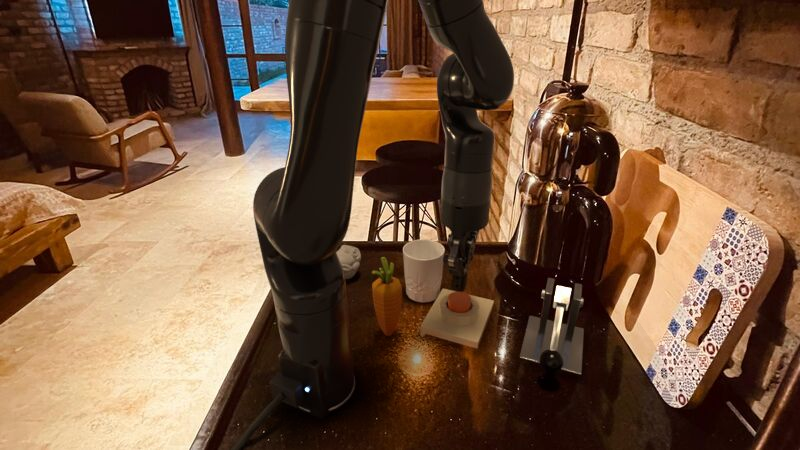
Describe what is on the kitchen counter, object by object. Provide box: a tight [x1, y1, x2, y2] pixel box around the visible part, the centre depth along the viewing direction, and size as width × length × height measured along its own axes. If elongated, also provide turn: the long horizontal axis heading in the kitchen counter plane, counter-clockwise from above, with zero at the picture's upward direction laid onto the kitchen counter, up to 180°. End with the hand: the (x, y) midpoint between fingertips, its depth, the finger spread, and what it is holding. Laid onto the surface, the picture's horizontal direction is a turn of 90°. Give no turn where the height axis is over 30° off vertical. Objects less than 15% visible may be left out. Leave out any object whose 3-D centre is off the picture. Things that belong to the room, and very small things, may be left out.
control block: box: [419, 288, 495, 349], centre depth 72 cm, size 12×10×4 cm
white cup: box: [402, 238, 446, 304], centre depth 79 cm, size 8×8×10 cm
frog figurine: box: [336, 244, 362, 280], centre depth 85 cm, size 6×7×7 cm
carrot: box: [371, 256, 403, 337], centre depth 67 cm, size 5×5×15 cm
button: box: [448, 291, 471, 313], centre depth 71 cm, size 4×4×2 cm
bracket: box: [518, 277, 585, 376], centre depth 64 cm, size 11×9×12 cm
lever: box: [539, 284, 573, 374], centre depth 60 cm, size 13×3×3 cm
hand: (458, 288), depth 69 cm, fingers closed
